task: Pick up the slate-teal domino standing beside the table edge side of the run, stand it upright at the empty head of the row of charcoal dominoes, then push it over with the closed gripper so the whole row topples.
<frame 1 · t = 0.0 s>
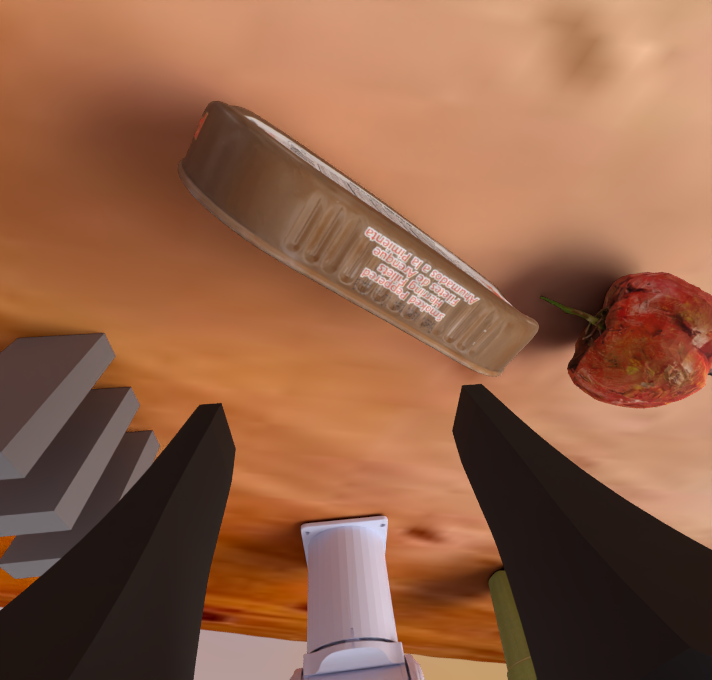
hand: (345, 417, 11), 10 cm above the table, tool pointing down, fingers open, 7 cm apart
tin: (368, 217, 18), on the table
domino 3: (122, 440, 25), on the table
domino 4: (98, 398, 22), on the table
pomegranate: (589, 307, 22), on the table
domino 5: (68, 347, 20), on the table
plant pot: (516, 571, 44), on the table
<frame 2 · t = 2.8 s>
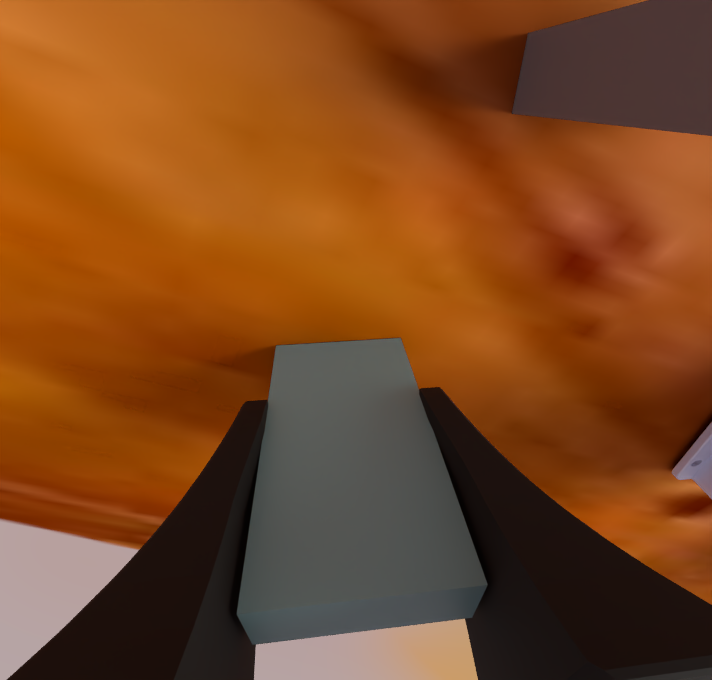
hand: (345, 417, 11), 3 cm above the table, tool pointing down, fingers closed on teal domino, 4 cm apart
domino 2: (605, 74, 9), on the table
teal domino: (339, 359, 13), on the table, touching gripper
when the fingers open (4 cm above the table, at t = 6.8 s): teal domino drops 1 cm, on the table.
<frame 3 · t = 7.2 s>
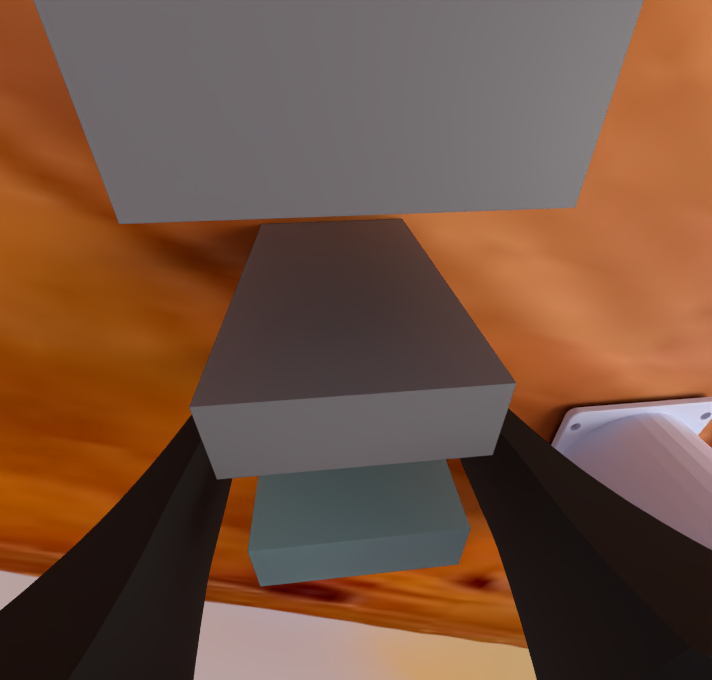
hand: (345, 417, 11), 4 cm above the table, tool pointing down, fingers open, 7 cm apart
domino 2: (334, 245, 12), on the table
domino 3: (327, 101, 10), on the table
teal domino: (339, 342, 14), on the table
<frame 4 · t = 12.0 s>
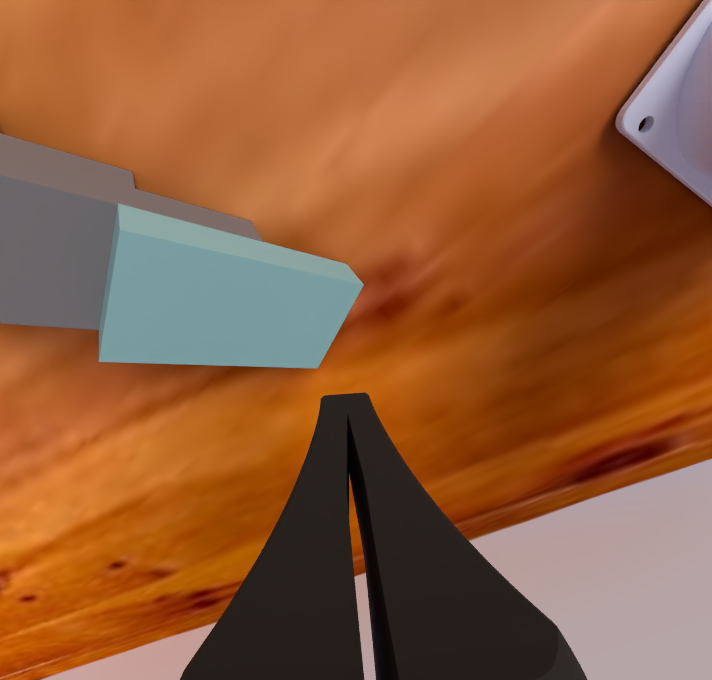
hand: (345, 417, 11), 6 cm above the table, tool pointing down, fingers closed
domino 2: (239, 282, 14), point 1 cm above the table, tilted 67°, touching domino 3, teal domino
domino 3: (126, 241, 13), point 1 cm above the table, tilted 67°, touching domino 2, domino 4
teal domino: (331, 318, 15), point 1 cm above the table, tilted 67°, touching domino 2
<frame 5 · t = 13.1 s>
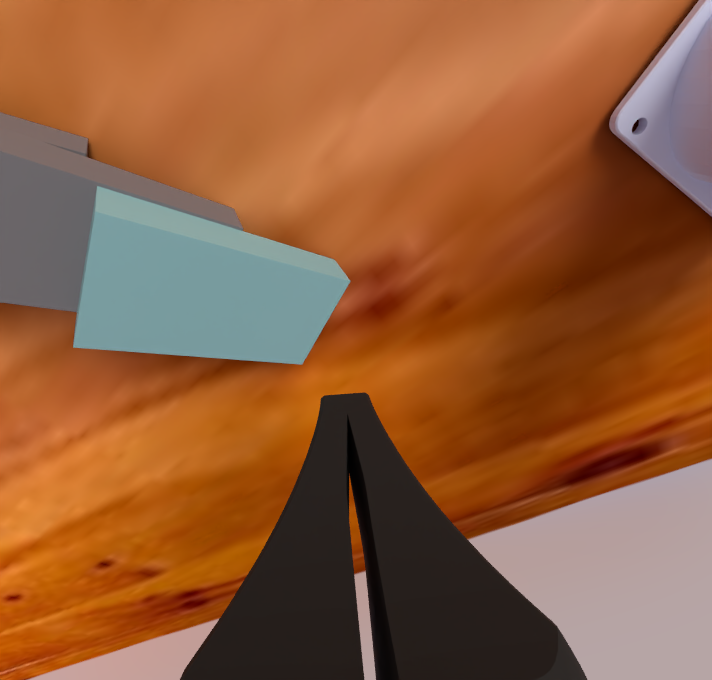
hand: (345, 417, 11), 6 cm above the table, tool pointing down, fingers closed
domino 2: (218, 270, 14), point 1 cm above the table, tilted 68°, touching domino 3, teal domino
domino 3: (85, 214, 12), point 1 cm above the table, tilted 67°, touching domino 2, domino 4
teal domino: (317, 313, 15), point 1 cm above the table, tilted 68°, touching domino 2
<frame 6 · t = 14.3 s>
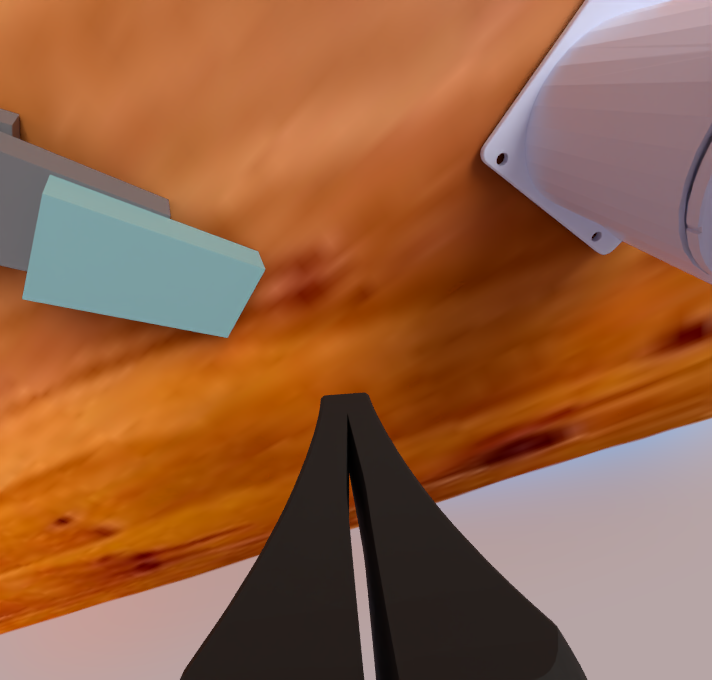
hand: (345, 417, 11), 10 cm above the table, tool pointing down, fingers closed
domino 2: (153, 249, 17), point 1 cm above the table, tilted 69°, touching teal domino
domino 3: (18, 179, 14), point 1 cm above the table, tilted 67°, touching domino 4
teal domino: (242, 295, 18), point 1 cm above the table, tilted 69°, touching domino 2
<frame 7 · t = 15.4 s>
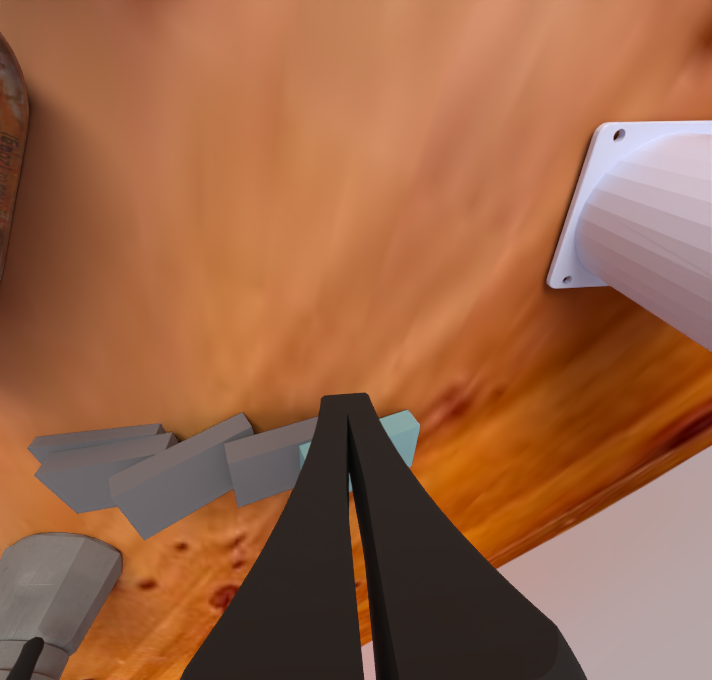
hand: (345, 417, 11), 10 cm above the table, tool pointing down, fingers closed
domino 2: (347, 438, 25), point 1 cm above the table, tilted 71°, touching teal domino
domino 3: (254, 441, 25), point 1 cm above the table, tilted 60°, touching domino 4
domino 4: (183, 463, 24), point 2 cm above the table, tilted 89°, touching domino 3, domino 5
domino 5: (172, 446, 25), on the table, tilted 90°, touching domino 4
teal domino: (409, 438, 26), point 1 cm above the table, tilted 70°, touching domino 2
coffeepot: (74, 549, 32), on the table
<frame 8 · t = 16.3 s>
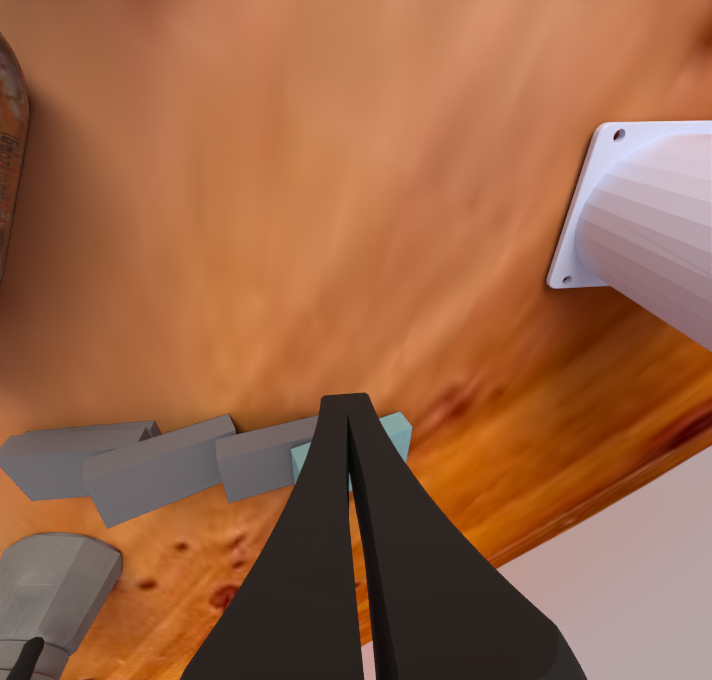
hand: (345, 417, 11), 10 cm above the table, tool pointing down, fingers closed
domino 2: (340, 440, 25), point 1 cm above the table, tilted 75°, touching domino 3, teal domino
domino 3: (235, 444, 25), point 1 cm above the table, tilted 64°, touching domino 2
domino 4: (152, 459, 23), point 2 cm above the table, tilted 90°
domino 5: (165, 442, 25), on the table, tilted 90°
teal domino: (402, 440, 26), point 1 cm above the table, tilted 70°, touching domino 2
coffeepot: (74, 549, 32), on the table
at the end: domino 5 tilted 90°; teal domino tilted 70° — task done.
